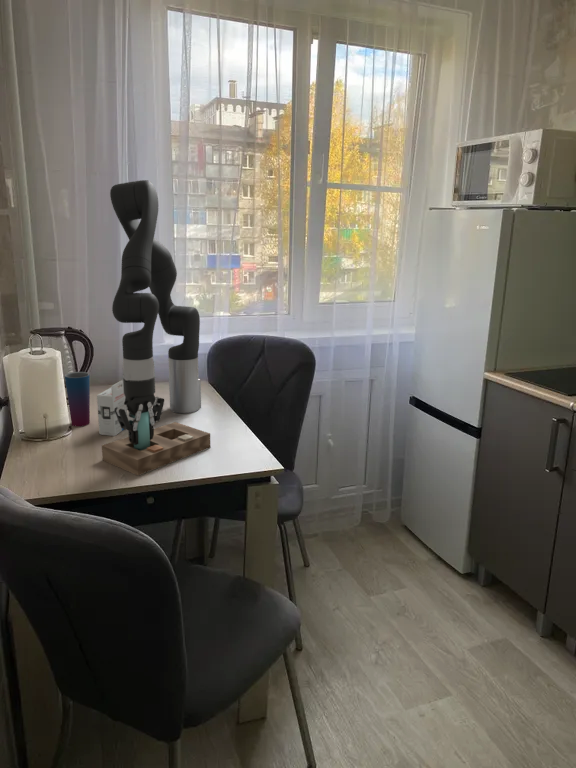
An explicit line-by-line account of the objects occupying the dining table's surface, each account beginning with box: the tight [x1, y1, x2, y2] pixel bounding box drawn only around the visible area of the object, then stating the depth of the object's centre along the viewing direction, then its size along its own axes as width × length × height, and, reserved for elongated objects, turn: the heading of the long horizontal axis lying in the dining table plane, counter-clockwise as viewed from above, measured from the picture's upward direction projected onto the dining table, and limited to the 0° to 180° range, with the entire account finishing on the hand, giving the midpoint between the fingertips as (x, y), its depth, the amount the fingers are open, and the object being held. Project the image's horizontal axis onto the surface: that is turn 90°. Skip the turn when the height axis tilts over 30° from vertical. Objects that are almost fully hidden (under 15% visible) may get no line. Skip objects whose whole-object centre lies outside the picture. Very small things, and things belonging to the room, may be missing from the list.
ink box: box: [96, 379, 128, 437], centre depth 164 cm, size 9×5×15 cm, turn 168°
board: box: [101, 421, 211, 476], centre depth 149 cm, size 24×14×4 cm, turn 142°
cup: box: [64, 371, 91, 428], centre depth 169 cm, size 7×7×15 cm
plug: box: [132, 412, 150, 451], centre depth 144 cm, size 4×4×10 cm
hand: (141, 441), depth 145 cm, fingers closed on plug, 4 cm apart
